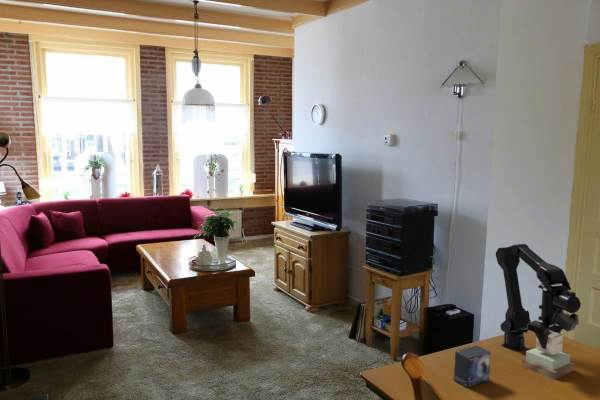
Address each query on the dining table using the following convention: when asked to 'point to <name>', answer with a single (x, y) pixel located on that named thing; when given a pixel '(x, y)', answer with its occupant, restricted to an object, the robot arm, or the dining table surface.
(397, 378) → the dining table surface
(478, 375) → the small box
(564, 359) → the sage slab
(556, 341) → the cream cube
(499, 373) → the dining table surface
